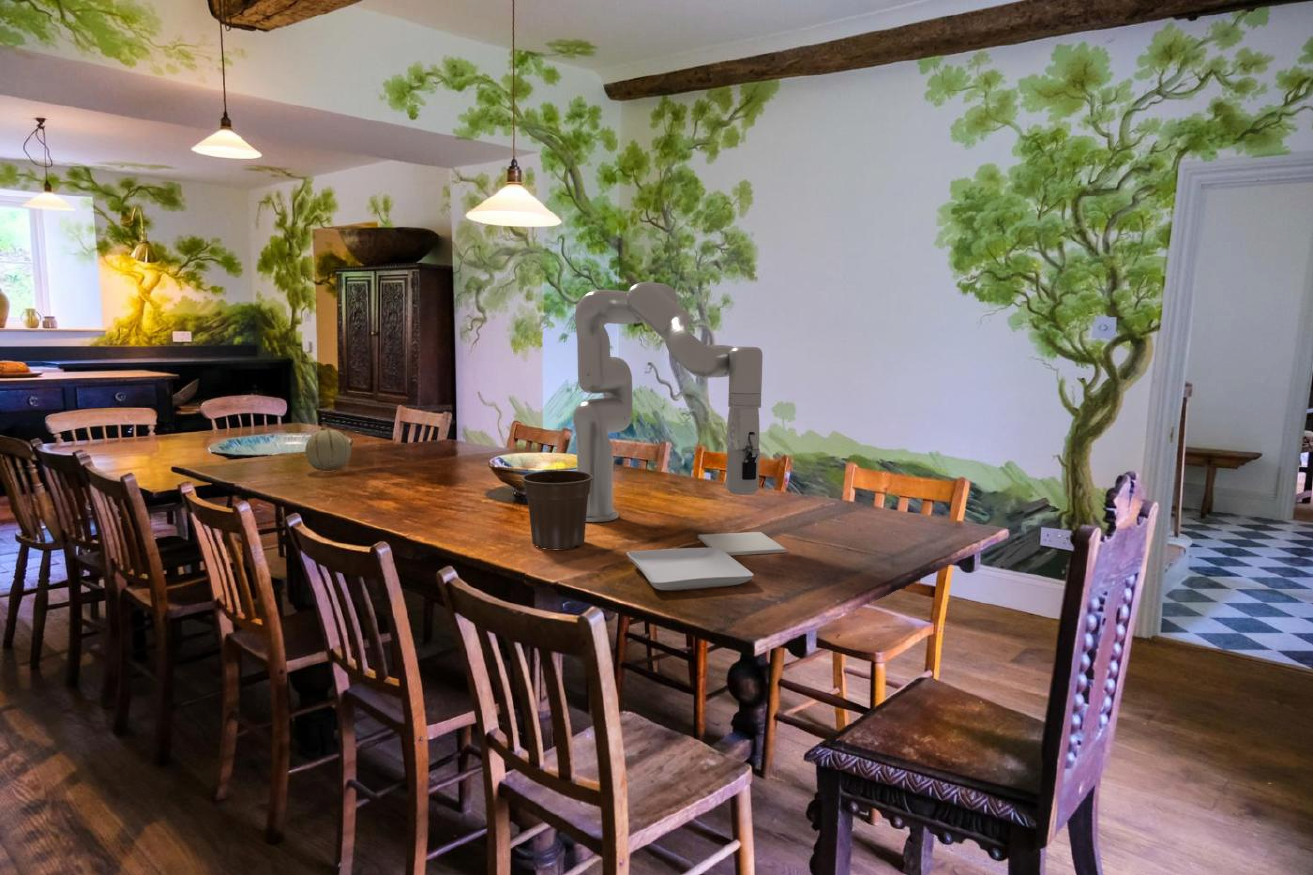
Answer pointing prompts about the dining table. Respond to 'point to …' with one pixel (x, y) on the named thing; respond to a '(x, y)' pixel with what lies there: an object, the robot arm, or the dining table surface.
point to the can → (739, 473)
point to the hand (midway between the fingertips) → (742, 475)
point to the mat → (742, 543)
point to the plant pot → (557, 507)
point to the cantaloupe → (328, 450)
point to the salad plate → (689, 568)
